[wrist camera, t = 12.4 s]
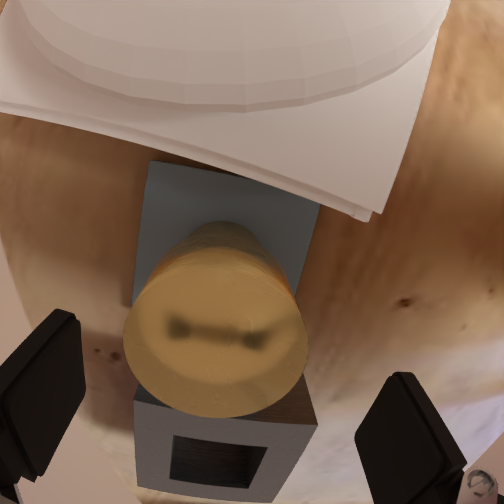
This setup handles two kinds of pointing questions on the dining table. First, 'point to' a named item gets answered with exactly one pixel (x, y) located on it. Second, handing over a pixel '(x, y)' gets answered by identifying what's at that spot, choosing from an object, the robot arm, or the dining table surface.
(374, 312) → the dining table surface
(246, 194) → the mat
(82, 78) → the butter dish
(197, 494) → the housing
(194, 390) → the end cover
